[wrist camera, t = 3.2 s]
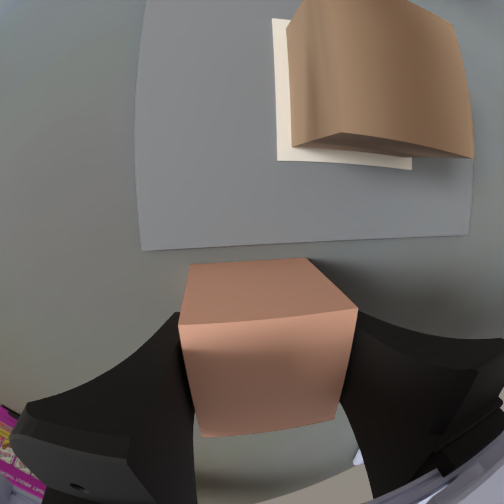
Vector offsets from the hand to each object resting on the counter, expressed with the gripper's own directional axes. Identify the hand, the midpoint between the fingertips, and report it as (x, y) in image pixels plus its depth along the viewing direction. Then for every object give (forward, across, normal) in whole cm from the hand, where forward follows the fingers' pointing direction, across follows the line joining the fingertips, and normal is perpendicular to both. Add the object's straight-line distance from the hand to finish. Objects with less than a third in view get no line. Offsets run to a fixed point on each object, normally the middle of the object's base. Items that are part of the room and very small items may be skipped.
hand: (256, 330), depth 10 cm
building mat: (+1, -4, -9) cm, 10 cm away
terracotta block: (+2, 0, 0) cm, 2 cm away
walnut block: (+1, -4, -9) cm, 10 cm away
